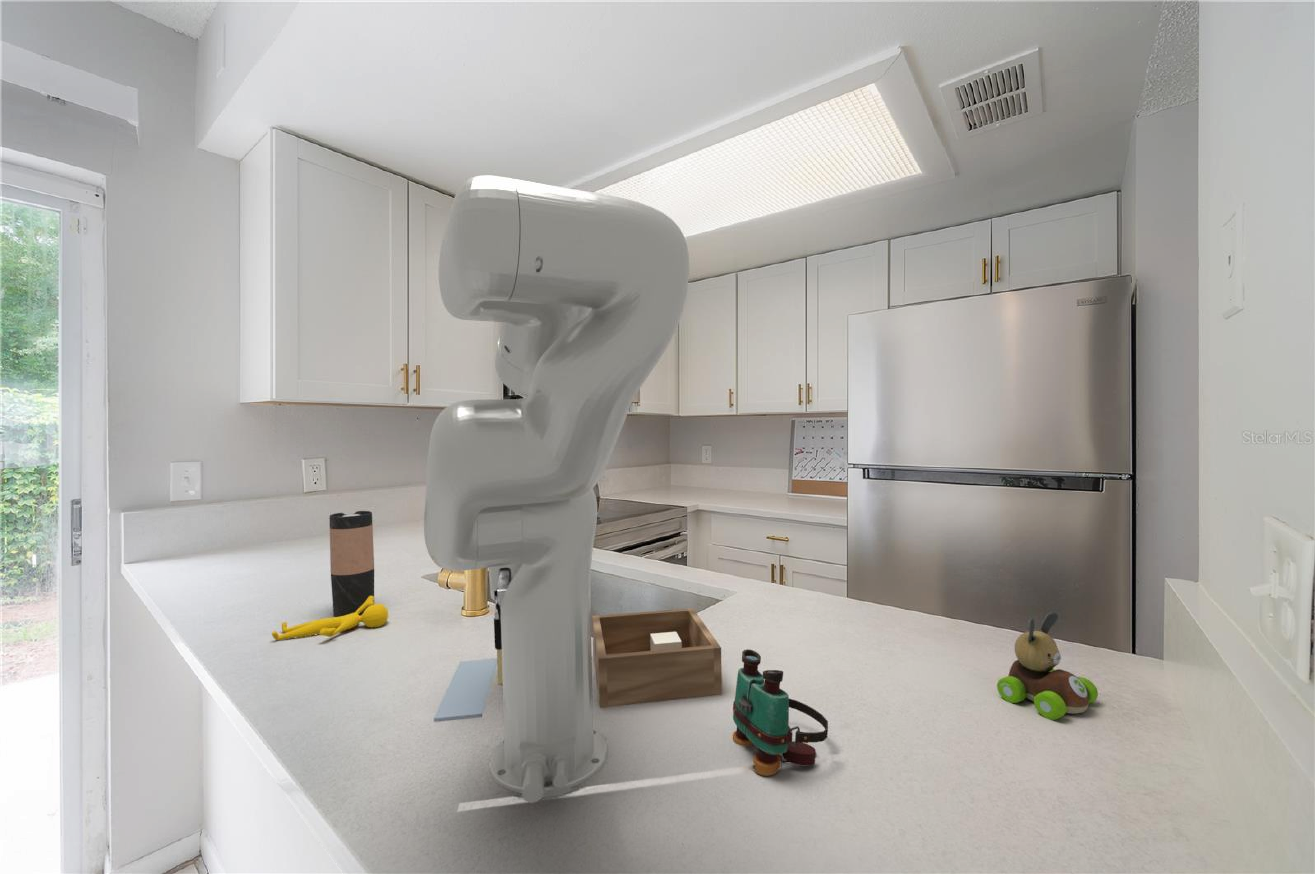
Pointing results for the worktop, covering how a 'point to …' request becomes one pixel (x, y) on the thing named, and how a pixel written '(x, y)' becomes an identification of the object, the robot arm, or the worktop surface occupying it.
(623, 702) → the box
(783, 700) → the binoculars
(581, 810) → the worktop surface
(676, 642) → the cream cube
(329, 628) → the figurine
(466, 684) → the lid
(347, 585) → the travel mug
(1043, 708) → the toy car
